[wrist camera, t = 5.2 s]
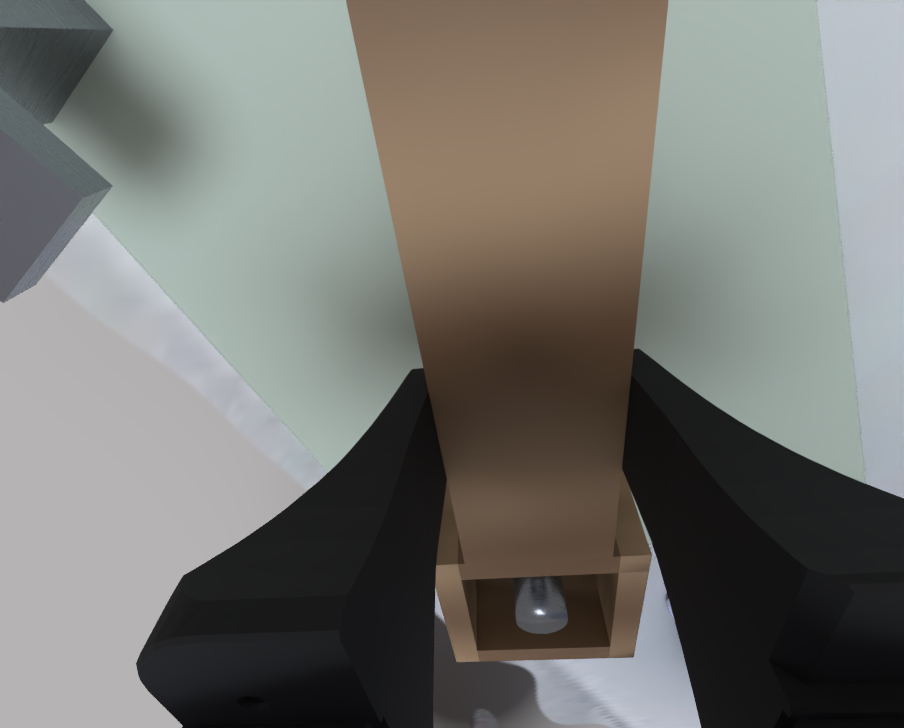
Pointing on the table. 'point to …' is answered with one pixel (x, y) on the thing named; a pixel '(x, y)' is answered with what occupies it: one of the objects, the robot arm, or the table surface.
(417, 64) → the link
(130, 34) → the board
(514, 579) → the cylinder
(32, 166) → the keeper
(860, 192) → the table surface
